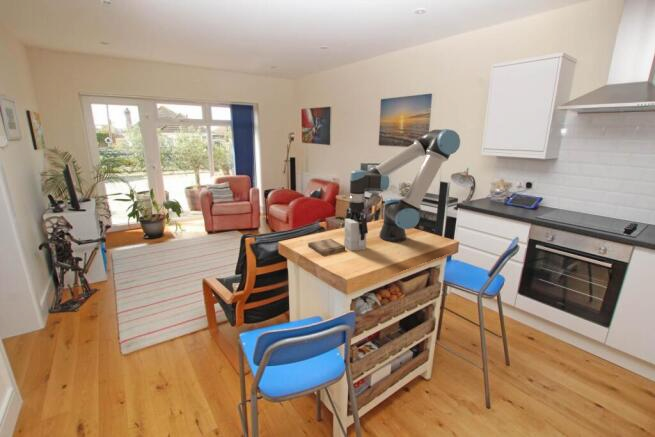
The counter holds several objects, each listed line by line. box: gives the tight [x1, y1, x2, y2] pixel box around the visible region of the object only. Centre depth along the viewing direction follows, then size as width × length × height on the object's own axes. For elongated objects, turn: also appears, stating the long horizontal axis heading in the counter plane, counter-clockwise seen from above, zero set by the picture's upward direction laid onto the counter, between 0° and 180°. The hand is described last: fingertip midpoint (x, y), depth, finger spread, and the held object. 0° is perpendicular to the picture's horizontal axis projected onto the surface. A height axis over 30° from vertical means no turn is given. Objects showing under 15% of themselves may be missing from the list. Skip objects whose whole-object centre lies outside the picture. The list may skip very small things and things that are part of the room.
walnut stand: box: [307, 238, 346, 256], centre depth 161 cm, size 14×14×2 cm
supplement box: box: [343, 218, 367, 251], centre depth 161 cm, size 9×9×15 cm
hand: (354, 242), depth 163 cm, fingers closed on supplement box, 10 cm apart
